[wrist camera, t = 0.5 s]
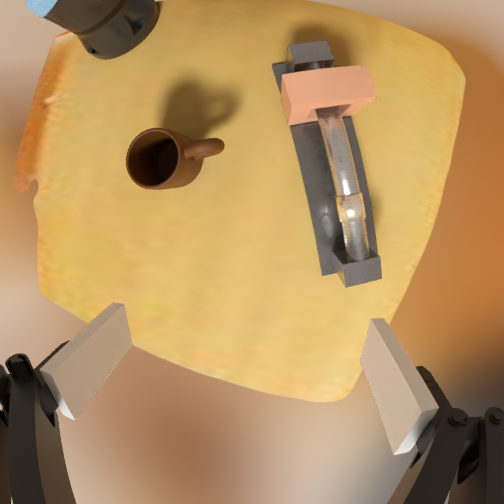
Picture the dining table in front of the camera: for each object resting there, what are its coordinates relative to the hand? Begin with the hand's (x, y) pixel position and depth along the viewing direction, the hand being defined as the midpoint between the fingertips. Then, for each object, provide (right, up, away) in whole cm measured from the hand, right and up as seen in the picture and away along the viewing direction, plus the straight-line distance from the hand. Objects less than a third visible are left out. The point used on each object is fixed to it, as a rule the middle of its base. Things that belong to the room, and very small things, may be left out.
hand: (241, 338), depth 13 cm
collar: (+10, +24, +19) cm, 32 cm away
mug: (-8, +18, +24) cm, 31 cm away
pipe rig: (+12, +17, +22) cm, 30 cm away
